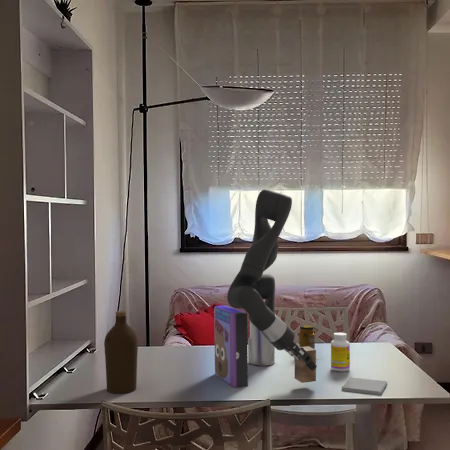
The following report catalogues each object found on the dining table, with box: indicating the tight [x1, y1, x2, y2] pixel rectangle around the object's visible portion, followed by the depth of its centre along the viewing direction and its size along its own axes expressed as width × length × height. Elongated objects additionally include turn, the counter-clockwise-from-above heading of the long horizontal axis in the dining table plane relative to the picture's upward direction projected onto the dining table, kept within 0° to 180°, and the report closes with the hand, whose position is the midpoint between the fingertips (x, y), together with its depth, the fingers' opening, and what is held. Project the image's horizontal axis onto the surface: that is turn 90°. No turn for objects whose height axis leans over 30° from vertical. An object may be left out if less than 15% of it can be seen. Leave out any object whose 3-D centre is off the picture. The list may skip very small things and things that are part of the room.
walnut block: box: [294, 346, 317, 384], centre depth 182 cm, size 5×5×10 cm
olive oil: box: [103, 310, 139, 394], centre depth 183 cm, size 11×11×25 cm
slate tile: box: [341, 376, 388, 396], centre depth 183 cm, size 12×12×1 cm
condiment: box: [298, 324, 320, 360], centre depth 222 cm, size 7×8×12 cm
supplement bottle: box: [330, 332, 351, 373], centre depth 204 cm, size 7×7×13 cm
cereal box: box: [213, 304, 249, 389], centre depth 192 cm, size 17×5×24 cm, turn 22°
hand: (310, 366), depth 183 cm, fingers closed on walnut block, 5 cm apart
